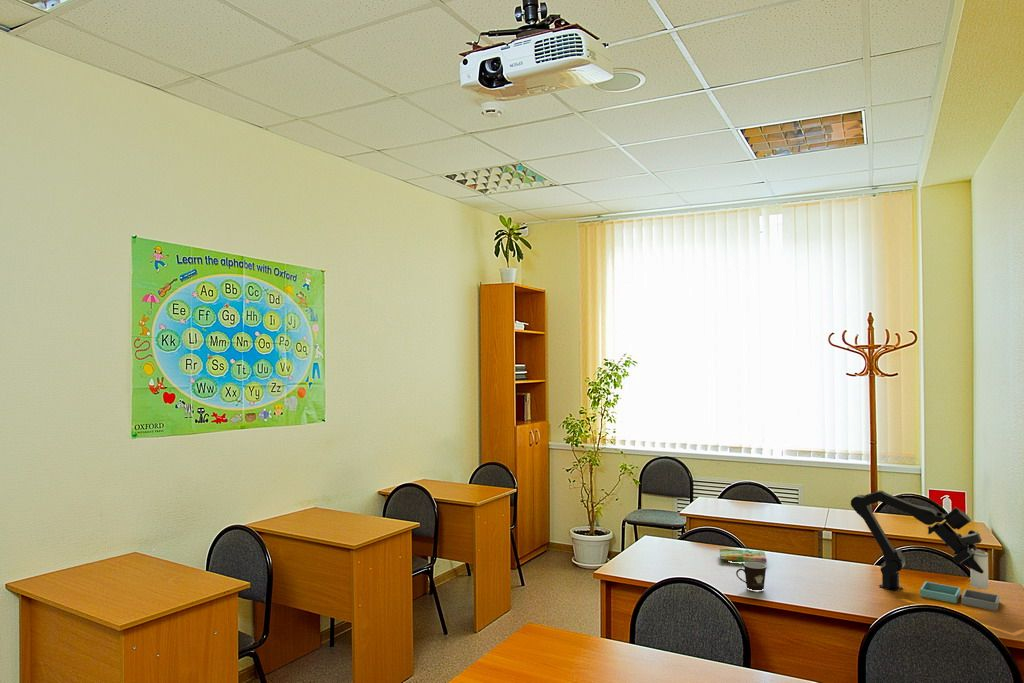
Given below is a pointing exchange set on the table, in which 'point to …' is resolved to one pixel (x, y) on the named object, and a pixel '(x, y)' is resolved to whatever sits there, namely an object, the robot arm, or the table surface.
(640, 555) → the table surface
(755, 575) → the coffee mug
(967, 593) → the bin
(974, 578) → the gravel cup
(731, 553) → the puzzle game
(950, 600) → the bin
